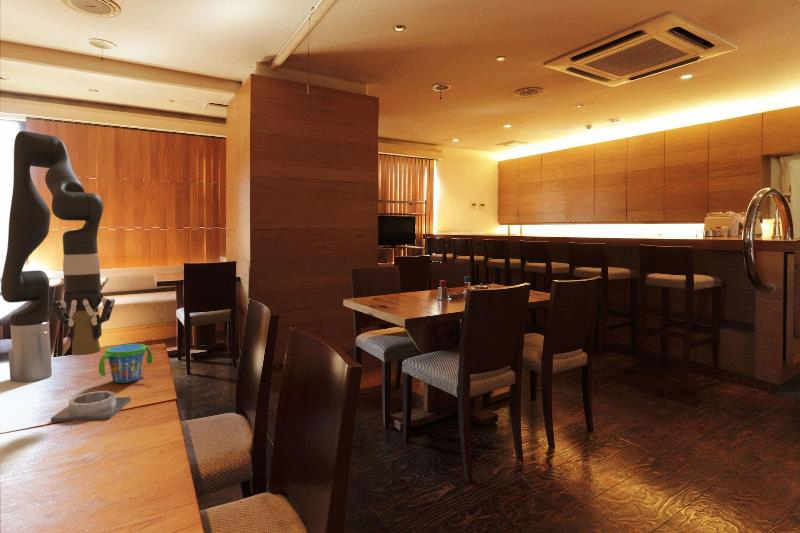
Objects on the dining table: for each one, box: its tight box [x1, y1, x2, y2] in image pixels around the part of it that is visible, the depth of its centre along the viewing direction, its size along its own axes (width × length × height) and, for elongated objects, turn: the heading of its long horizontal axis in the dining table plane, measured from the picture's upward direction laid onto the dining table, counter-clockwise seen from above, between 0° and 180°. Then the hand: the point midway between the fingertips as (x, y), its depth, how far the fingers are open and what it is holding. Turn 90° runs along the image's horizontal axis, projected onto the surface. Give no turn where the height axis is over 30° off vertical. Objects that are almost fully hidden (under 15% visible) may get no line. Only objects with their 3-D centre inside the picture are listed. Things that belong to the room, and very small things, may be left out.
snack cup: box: [98, 343, 153, 384], centre depth 140 cm, size 16×10×10 cm
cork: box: [72, 310, 102, 356], centre depth 116 cm, size 6×6×11 cm
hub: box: [50, 390, 132, 423], centre depth 117 cm, size 13×12×3 cm
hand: (86, 339), depth 116 cm, fingers closed on cork, 4 cm apart
